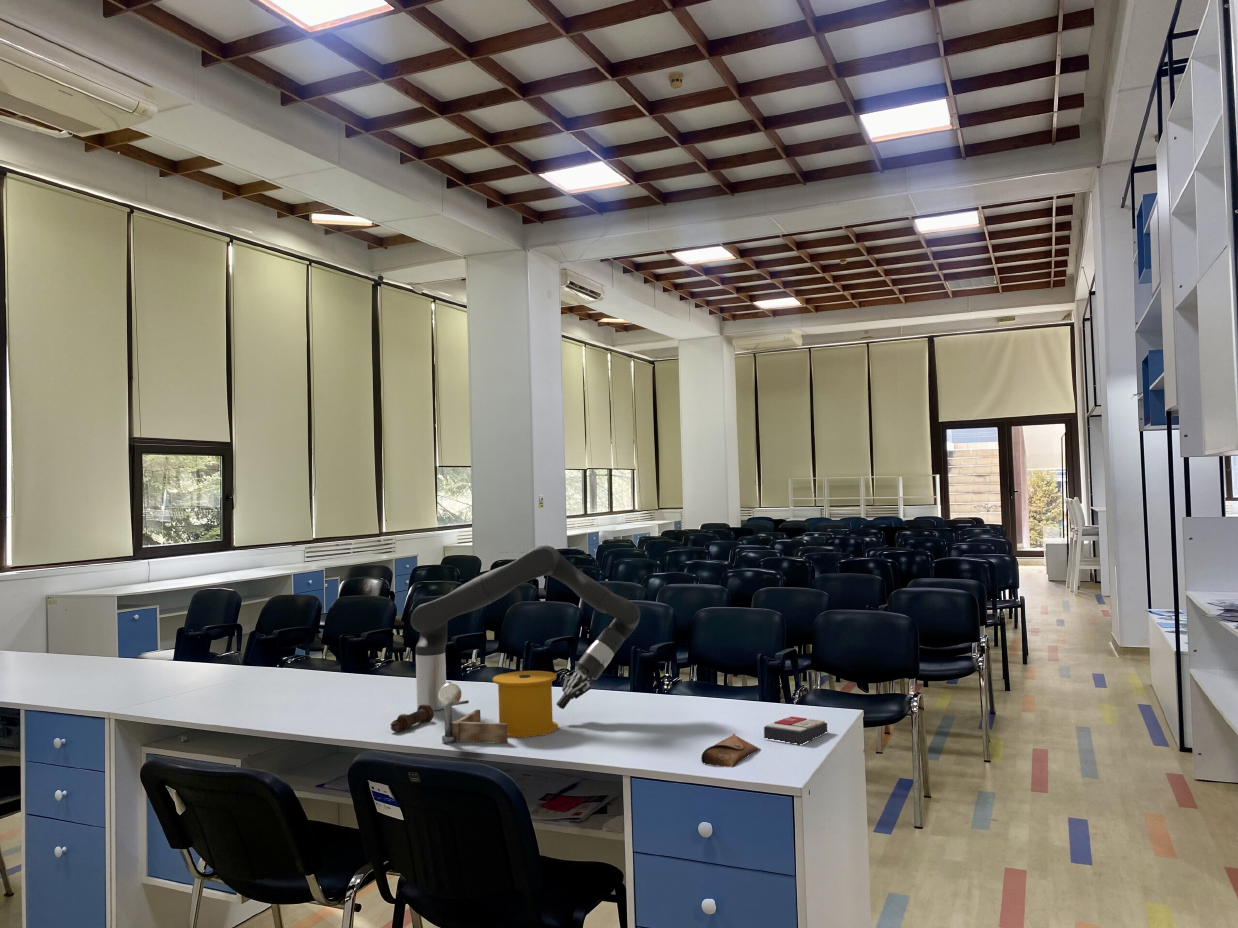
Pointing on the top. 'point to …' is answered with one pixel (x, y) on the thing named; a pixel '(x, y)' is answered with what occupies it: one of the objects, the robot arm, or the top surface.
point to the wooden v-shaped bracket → (478, 730)
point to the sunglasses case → (728, 752)
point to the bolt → (413, 718)
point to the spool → (526, 702)
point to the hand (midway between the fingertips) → (559, 706)
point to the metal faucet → (449, 707)
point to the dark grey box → (795, 729)
